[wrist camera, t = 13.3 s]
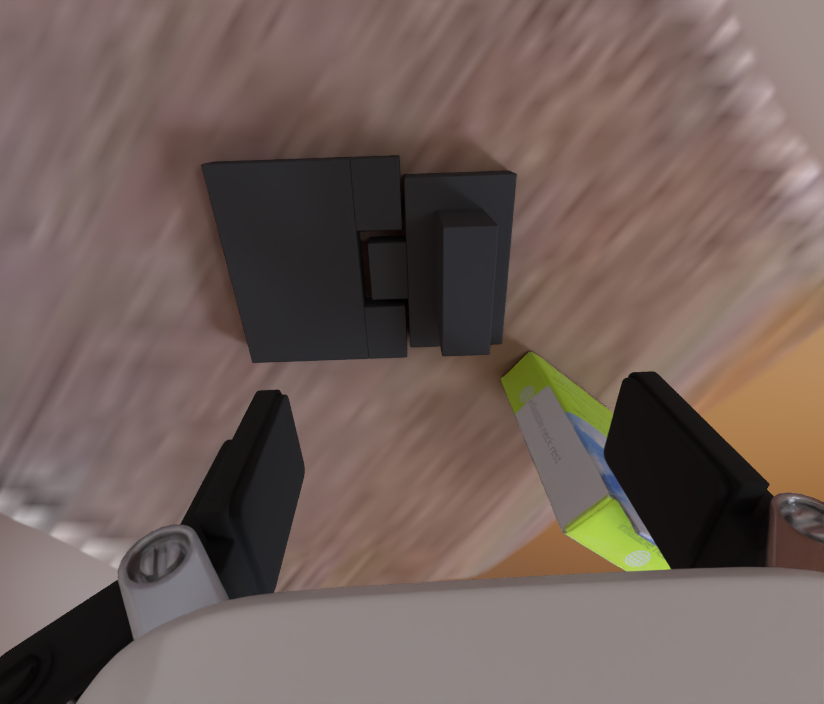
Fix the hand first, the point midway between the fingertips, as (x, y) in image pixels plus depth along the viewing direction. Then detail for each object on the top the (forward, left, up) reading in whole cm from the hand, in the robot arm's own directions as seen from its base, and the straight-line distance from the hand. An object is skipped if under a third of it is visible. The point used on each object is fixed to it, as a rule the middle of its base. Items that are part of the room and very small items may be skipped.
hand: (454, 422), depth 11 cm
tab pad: (+1, +1, -20) cm, 20 cm away
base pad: (+1, -7, -20) cm, 21 cm away
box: (+14, +12, -20) cm, 27 cm away
